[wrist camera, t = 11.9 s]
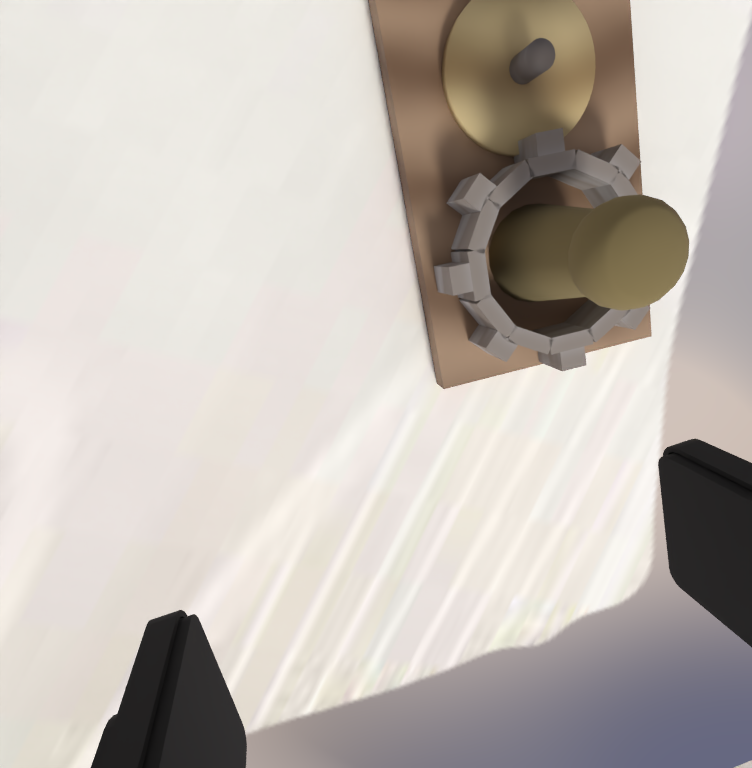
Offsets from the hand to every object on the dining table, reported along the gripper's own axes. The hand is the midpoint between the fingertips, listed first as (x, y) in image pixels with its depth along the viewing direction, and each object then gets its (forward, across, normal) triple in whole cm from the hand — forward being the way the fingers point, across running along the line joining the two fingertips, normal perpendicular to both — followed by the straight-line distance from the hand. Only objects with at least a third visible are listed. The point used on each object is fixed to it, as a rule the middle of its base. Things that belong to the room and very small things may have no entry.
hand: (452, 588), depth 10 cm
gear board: (+25, -15, -7) cm, 30 cm away
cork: (+24, -14, -2) cm, 28 cm away
